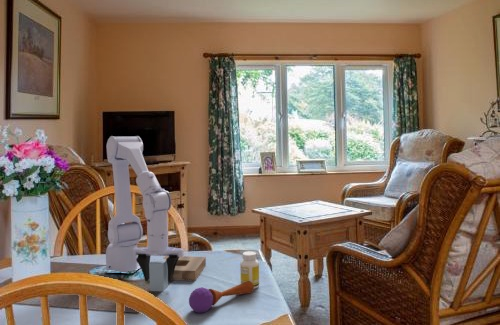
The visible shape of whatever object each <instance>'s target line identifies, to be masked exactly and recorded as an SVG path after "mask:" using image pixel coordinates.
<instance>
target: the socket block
mask: <svg viewBox="0 0 500 325" xmlns="http://www.w3.org/2000/svg"><path fill="white" fill-rule="evenodd" d="M168 257H169V256H163V257H162V259H167V258H168ZM206 258H207V257H206V256H184V255H183V256H182V257H179V259H178V261H177V264H176V266H175V269H174V273H173V280H172V281H193V282H194V281H195V282H196V281H197V279H198V277H199V276H200V275H201V273H202V272H203V271H204V269H205V268H206V266H207V265H206V264H207V262H206V260H207V259H206Z"/></svg>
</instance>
